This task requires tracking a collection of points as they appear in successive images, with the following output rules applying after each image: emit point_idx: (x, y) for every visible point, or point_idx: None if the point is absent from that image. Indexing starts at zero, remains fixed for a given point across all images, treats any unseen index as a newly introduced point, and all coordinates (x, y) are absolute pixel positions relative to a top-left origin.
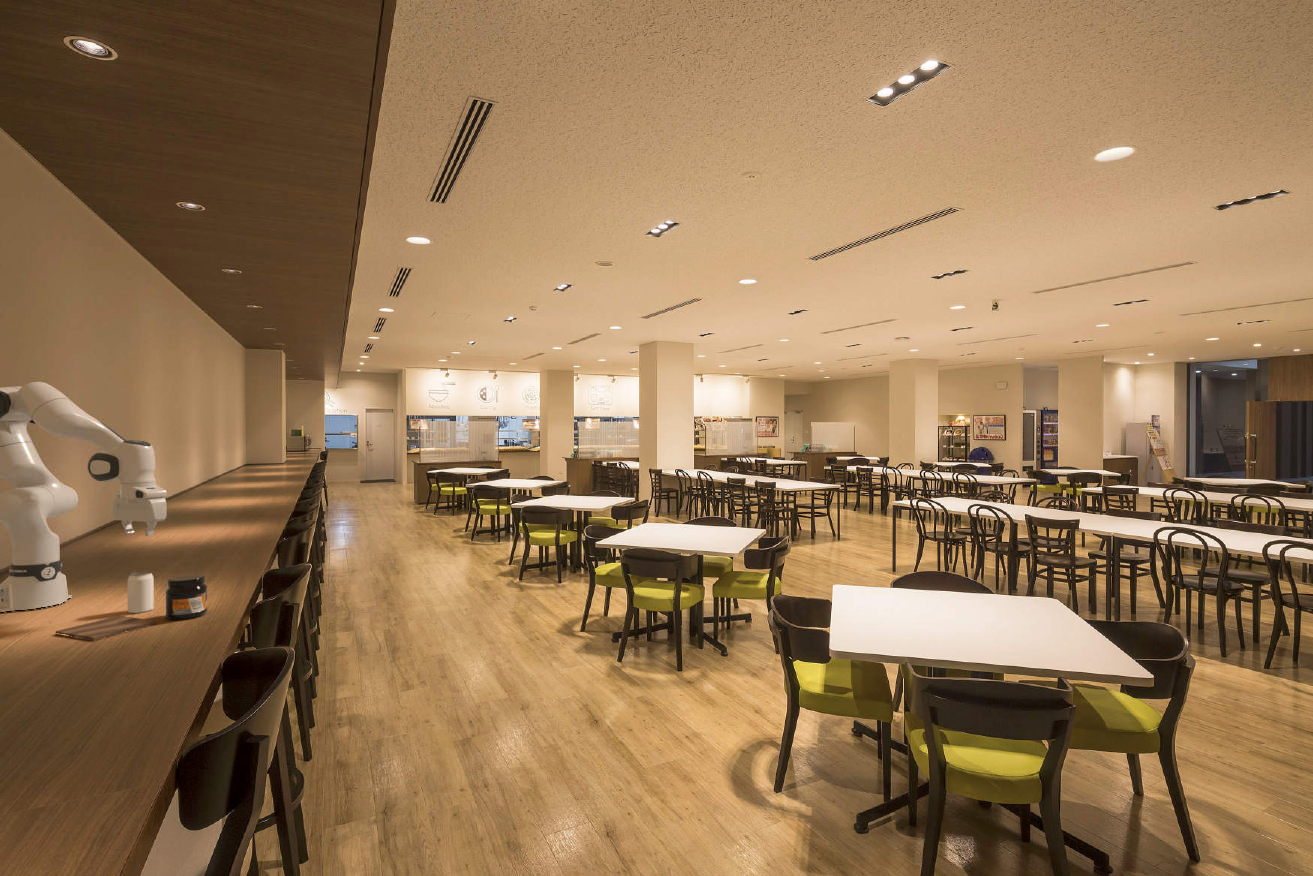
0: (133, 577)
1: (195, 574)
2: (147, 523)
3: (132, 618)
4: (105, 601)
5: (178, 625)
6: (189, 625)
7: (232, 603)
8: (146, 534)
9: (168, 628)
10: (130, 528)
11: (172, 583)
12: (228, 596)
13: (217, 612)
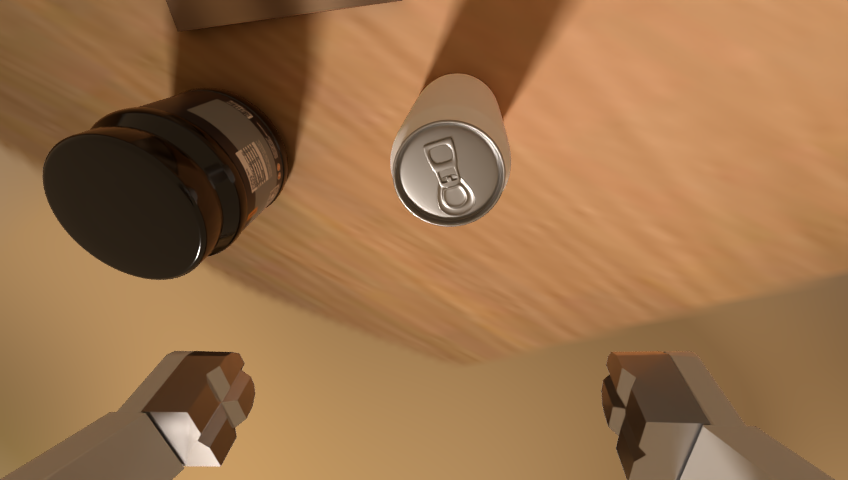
0: (426, 121)
1: (174, 269)
2: None
3: (294, 2)
4: (779, 141)
5: (111, 63)
6: (85, 82)
7: (285, 291)
8: (187, 361)
9: (88, 20)
10: (685, 473)
11: (79, 133)
12: (384, 333)
13: None
